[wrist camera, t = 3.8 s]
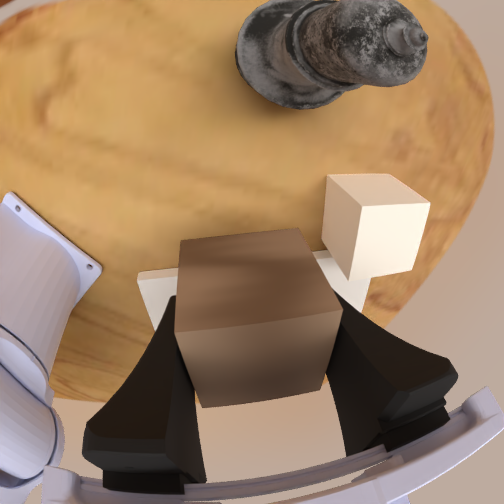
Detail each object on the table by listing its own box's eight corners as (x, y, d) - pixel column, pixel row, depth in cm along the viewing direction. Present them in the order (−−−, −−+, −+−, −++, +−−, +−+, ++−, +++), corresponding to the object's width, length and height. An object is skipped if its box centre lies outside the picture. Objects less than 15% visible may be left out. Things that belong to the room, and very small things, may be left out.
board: (168, 354, 26) (168, 364, 25) (138, 271, 20) (136, 281, 19) (350, 327, 28) (354, 335, 27) (371, 244, 22) (378, 251, 21)
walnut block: (198, 322, 15) (202, 408, 11) (180, 240, 12) (174, 332, 8) (292, 310, 15) (320, 390, 11) (298, 227, 13) (343, 309, 8)
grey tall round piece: (327, 106, 16) (484, 172, 6) (229, 102, 15) (287, 155, 5) (330, 18, 12) (495, -13, 3) (230, 8, 12) (290, -106, 2)
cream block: (320, 238, 21) (348, 281, 17) (326, 174, 18) (362, 206, 14) (377, 232, 22) (411, 270, 18) (388, 173, 19) (430, 203, 15)
